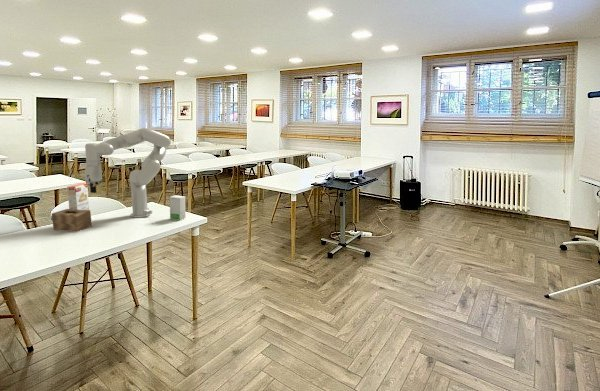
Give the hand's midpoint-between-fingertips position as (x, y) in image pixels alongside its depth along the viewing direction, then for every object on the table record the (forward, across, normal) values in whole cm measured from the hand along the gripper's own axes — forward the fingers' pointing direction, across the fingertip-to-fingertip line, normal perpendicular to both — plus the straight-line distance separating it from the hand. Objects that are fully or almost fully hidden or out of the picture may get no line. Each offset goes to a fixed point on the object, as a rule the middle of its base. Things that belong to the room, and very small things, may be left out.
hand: (95, 191), depth 237 cm
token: (+1, 0, 0) cm, 1 cm away
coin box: (+20, +15, -4) cm, 25 cm away
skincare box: (+19, -19, +46) cm, 53 cm away
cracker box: (+20, -13, -23) cm, 33 cm away
